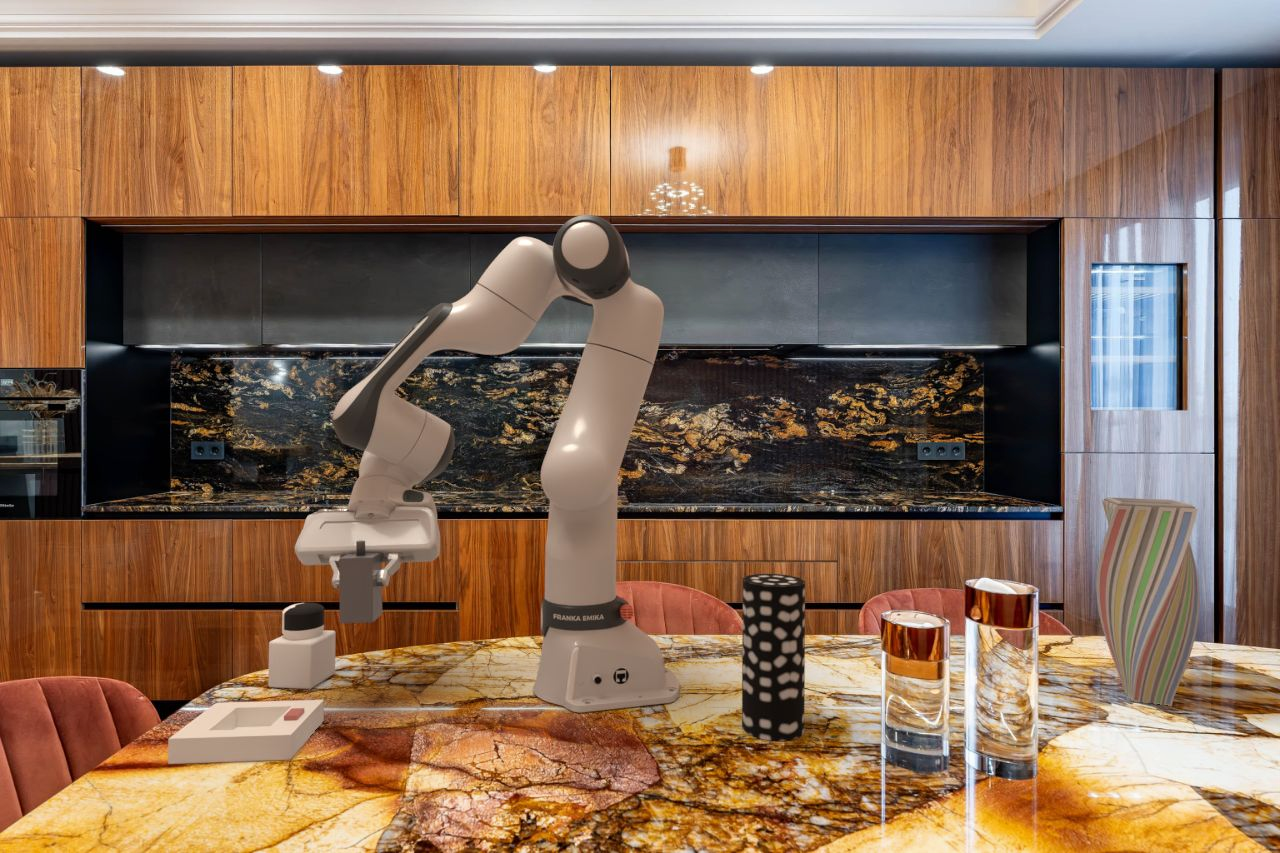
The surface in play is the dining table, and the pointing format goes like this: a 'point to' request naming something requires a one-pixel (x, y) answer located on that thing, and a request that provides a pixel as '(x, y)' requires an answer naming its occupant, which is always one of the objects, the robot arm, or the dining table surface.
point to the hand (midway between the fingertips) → (359, 585)
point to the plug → (360, 586)
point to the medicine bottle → (302, 649)
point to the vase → (1148, 594)
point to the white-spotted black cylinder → (773, 656)
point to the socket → (246, 732)
